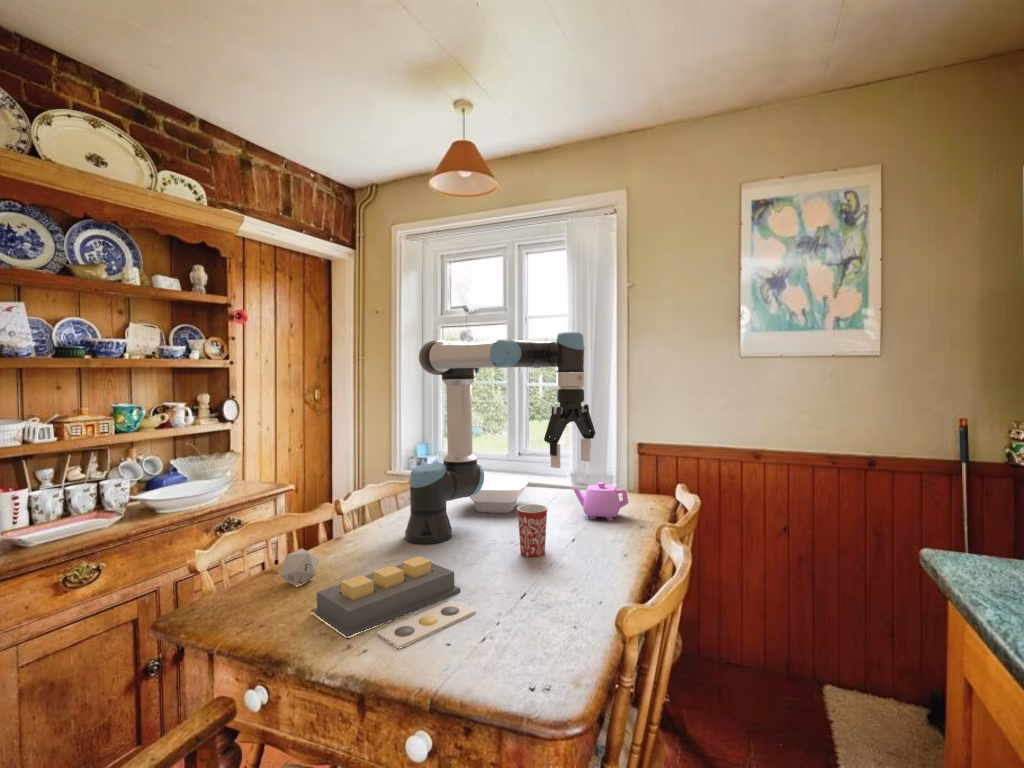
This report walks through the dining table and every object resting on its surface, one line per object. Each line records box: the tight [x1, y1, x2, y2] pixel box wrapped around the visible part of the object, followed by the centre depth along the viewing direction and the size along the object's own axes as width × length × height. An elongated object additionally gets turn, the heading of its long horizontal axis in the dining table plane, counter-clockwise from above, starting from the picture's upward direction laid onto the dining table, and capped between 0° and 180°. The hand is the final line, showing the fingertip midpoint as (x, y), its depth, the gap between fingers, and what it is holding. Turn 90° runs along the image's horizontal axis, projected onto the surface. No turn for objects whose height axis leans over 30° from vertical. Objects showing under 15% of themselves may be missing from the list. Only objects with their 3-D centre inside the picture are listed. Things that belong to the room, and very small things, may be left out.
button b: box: [372, 564, 404, 589], centre depth 119 cm, size 5×5×4 cm
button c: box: [401, 556, 432, 578], centre depth 124 cm, size 5×5×4 cm
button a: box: [340, 574, 374, 601], centre depth 113 cm, size 5×5×4 cm
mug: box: [516, 503, 549, 558], centre depth 152 cm, size 13×9×14 cm
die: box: [279, 547, 320, 586], centre depth 131 cm, size 8×9×10 cm
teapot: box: [573, 481, 629, 521], centre depth 188 cm, size 20×12×13 cm, turn 75°
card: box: [376, 599, 477, 648], centre depth 108 cm, size 8×20×1 cm, turn 137°
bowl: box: [468, 476, 528, 514], centre depth 202 cm, size 24×25×10 cm
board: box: [310, 562, 461, 637], centre depth 119 cm, size 16×30×5 cm, turn 137°
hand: (571, 464), depth 142 cm, fingers open, 13 cm apart
